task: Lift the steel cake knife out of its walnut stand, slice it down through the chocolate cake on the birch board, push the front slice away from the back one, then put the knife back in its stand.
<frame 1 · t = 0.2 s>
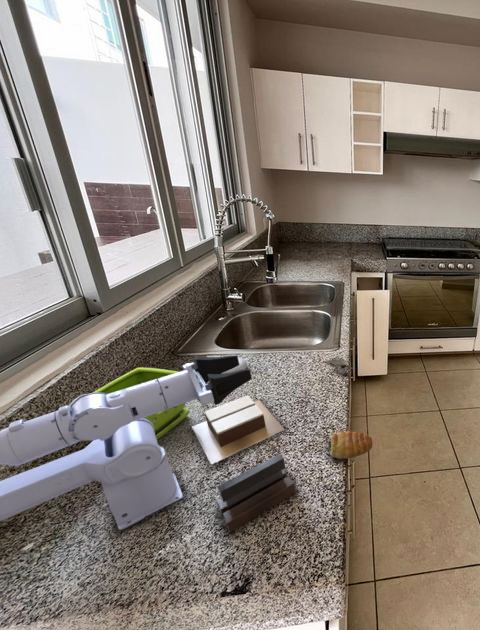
hand: (244, 366, 69), 21 cm above the counter, tool horizontal, fingers open, 7 cm apart
cake back: (233, 420, 85), point 1 cm above the counter, touching cake board
flower pot: (151, 430, 82), on the counter
cake front: (240, 431, 81), point 1 cm above the counter, touching cake board
meat cleaver: (338, 367, 110), on the counter
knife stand: (258, 501, 65), on the counter
pastry: (348, 449, 78), on the counter
donut: (230, 372, 106), on the counter
cake board: (238, 430, 83), on the counter
knife: (258, 501, 65), resting in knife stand
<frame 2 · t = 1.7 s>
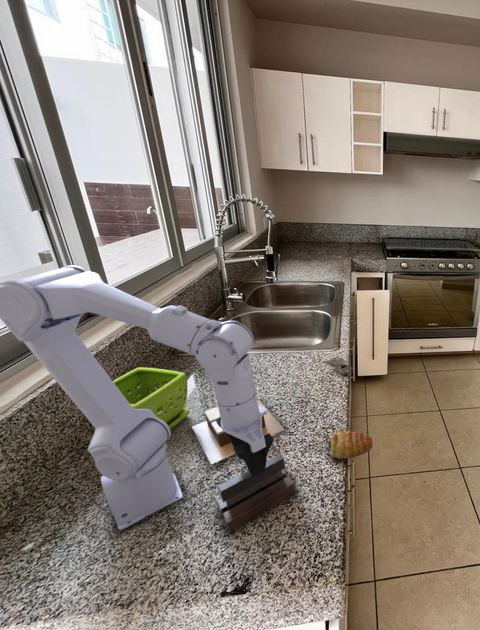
hand: (250, 459, 61), 10 cm above the counter, tool pointing down, fingers open, 7 cm apart
nothing on the counter moved.
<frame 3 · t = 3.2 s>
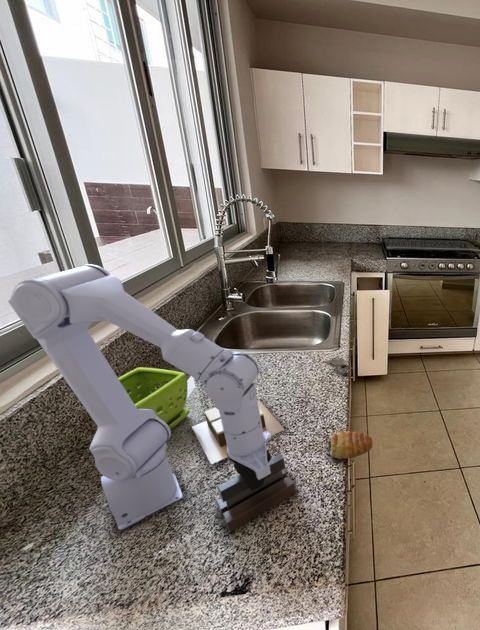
hand: (254, 483, 63), 5 cm above the counter, tool pointing down, fingers closed on knife, 1 cm apart
knife: (258, 501, 65), resting in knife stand, touching gripper
everything else where it was.
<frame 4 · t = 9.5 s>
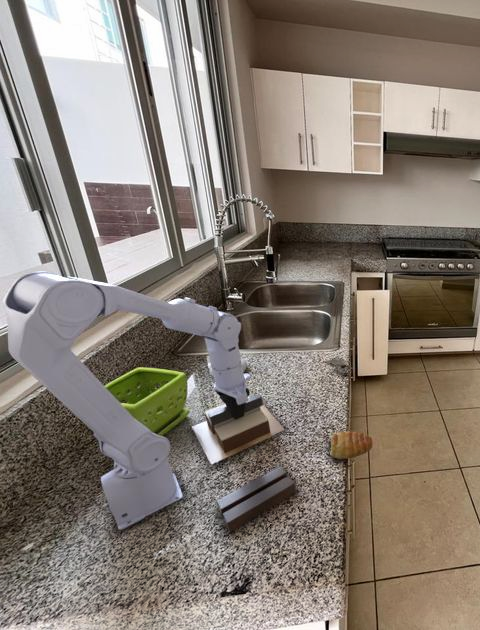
hand: (237, 415, 79), 6 cm above the counter, tool pointing down, fingers closed on knife, 1 cm apart
cake front: (245, 437, 79), point 1 cm above the counter, touching cake board, knife
knife: (240, 430, 81), point 1 cm above the counter, touching cake front, gripper
everything else where it was.
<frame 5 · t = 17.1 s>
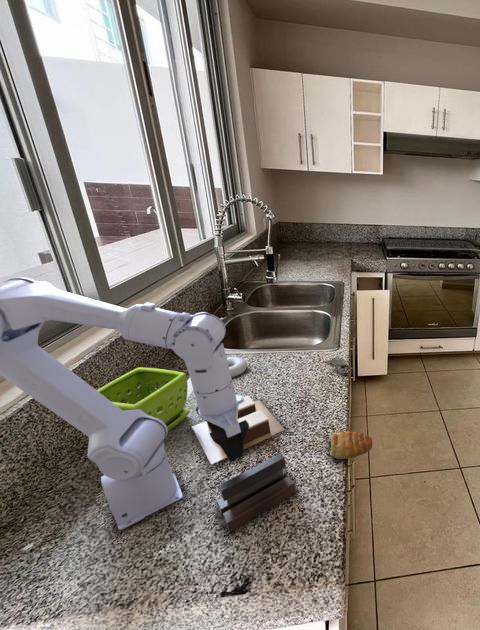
hand: (229, 446, 64), 10 cm above the counter, tool pointing down, fingers open, 7 cm apart
cake front: (245, 437, 79), point 1 cm above the counter, touching cake board
knife: (259, 500, 65), resting in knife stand
everything else where it was.
at the end: cake front 1.2 cm from the target spot on the cake board, point 0.6 cm above the cake board's base; cake back moved 0.0 cm from its start; knife 0.2 cm off-centre on the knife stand, point 0.0 cm above the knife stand's base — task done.
